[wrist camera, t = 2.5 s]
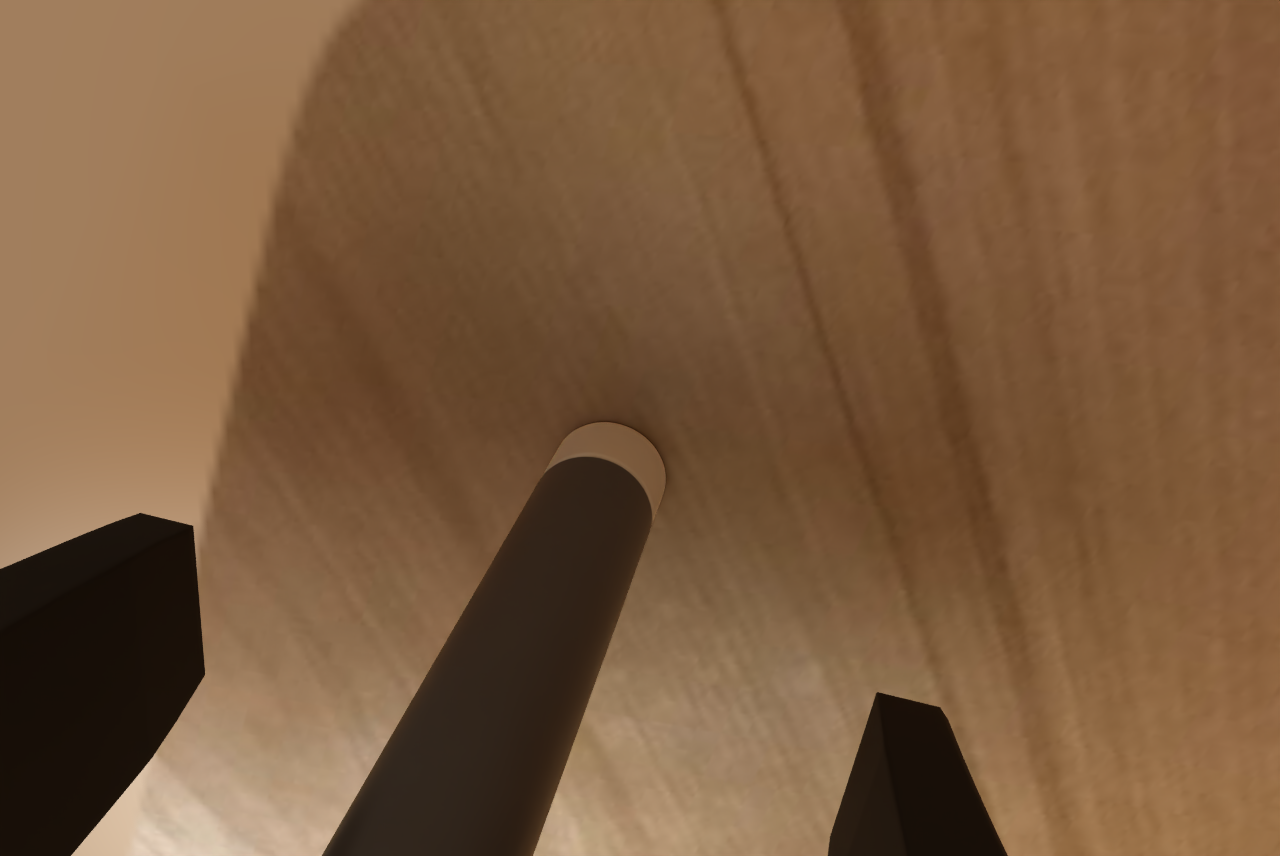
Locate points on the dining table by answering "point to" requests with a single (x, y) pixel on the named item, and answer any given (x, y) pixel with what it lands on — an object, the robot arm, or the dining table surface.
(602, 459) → the dark brown rod
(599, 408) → the dining table surface
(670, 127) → the dining table surface
